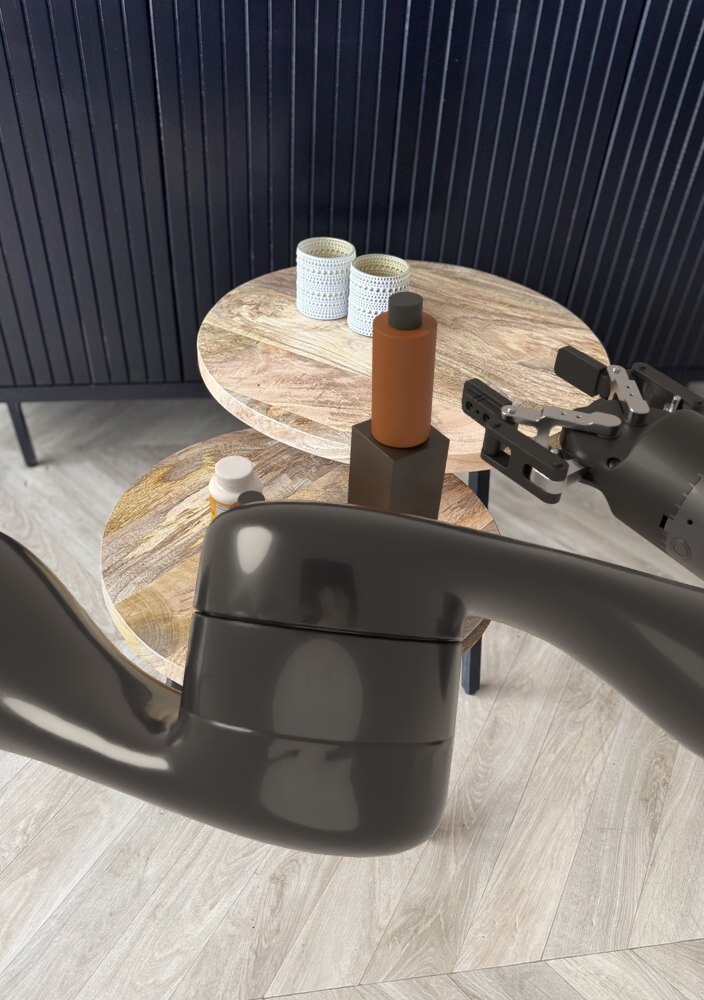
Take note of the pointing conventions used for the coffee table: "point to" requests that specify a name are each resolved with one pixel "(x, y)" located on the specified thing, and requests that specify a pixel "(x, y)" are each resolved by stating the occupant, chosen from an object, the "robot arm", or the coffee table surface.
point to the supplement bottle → (231, 483)
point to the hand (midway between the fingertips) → (514, 374)
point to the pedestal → (397, 473)
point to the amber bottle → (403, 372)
